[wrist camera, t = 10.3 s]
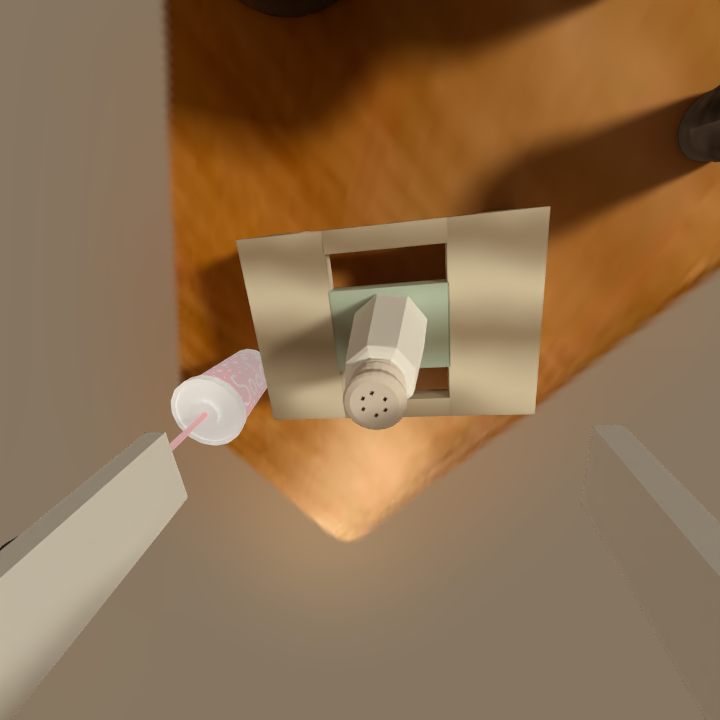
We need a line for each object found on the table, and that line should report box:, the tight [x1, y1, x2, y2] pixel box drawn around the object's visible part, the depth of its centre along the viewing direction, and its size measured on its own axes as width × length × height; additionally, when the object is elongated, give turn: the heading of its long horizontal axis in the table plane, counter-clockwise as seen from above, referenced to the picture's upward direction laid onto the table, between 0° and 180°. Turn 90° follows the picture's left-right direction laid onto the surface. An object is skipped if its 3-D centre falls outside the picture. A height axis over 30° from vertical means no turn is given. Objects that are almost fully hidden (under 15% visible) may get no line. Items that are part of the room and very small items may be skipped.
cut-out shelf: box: [236, 206, 550, 420], centre depth 29 cm, size 14×20×8 cm
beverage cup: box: [170, 349, 267, 450], centre depth 31 cm, size 6×6×14 cm
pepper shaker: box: [343, 294, 427, 430], centre depth 21 cm, size 5×5×11 cm
